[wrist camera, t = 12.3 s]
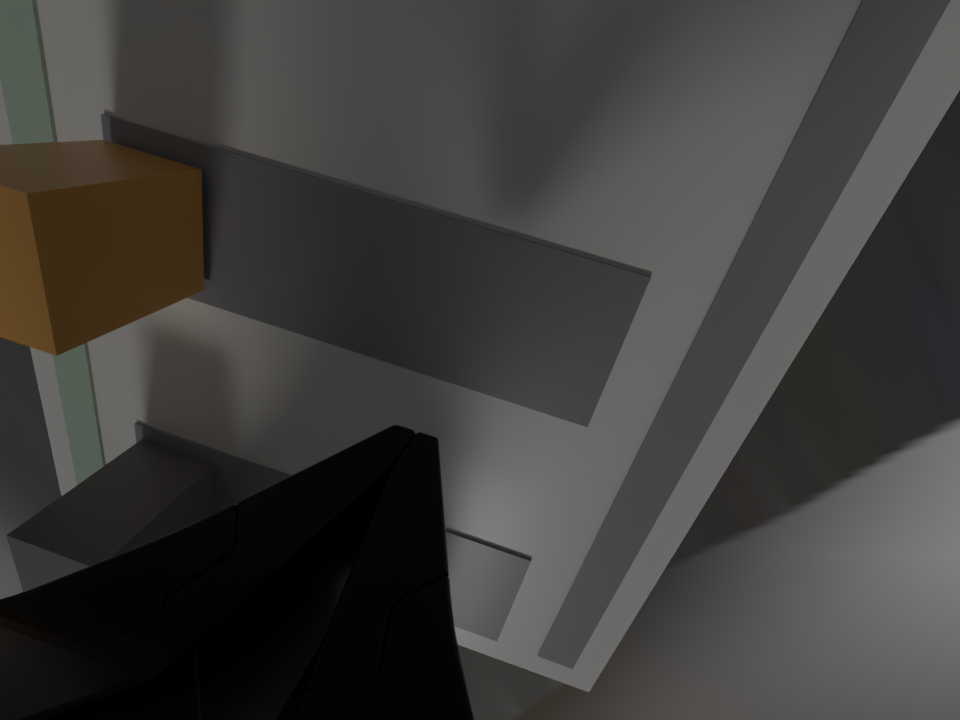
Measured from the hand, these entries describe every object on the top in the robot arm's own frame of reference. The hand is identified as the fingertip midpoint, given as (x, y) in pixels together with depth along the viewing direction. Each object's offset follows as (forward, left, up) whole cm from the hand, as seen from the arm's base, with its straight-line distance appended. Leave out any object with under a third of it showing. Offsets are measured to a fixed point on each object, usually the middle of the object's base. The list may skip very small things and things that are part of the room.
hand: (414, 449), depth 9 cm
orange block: (+1, +8, -3) cm, 9 cm away
